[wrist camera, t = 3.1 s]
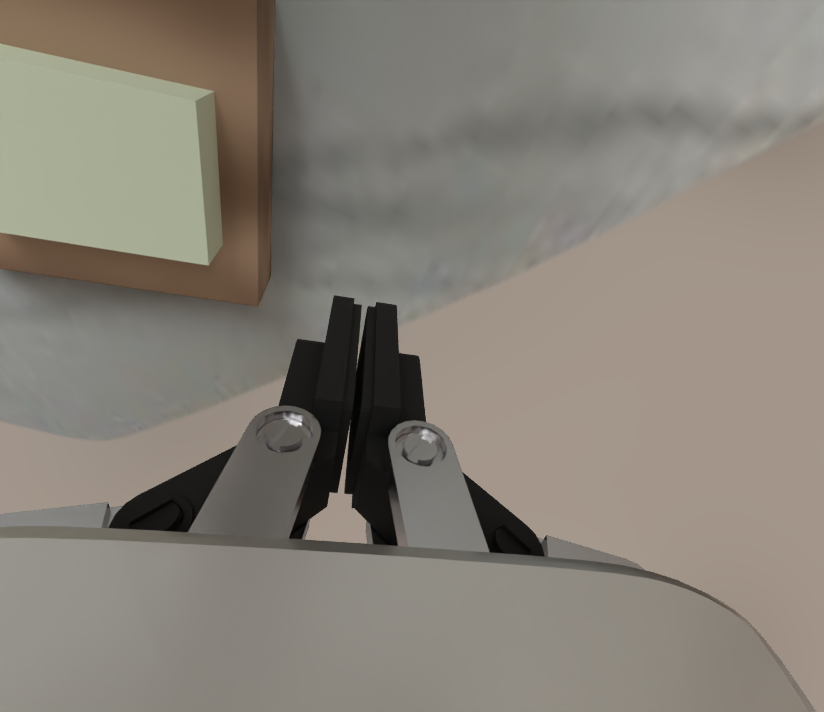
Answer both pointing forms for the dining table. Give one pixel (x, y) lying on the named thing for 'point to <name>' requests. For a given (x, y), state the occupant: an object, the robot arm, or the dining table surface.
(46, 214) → the pale green block
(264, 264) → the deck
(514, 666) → the robot arm
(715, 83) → the dining table surface
